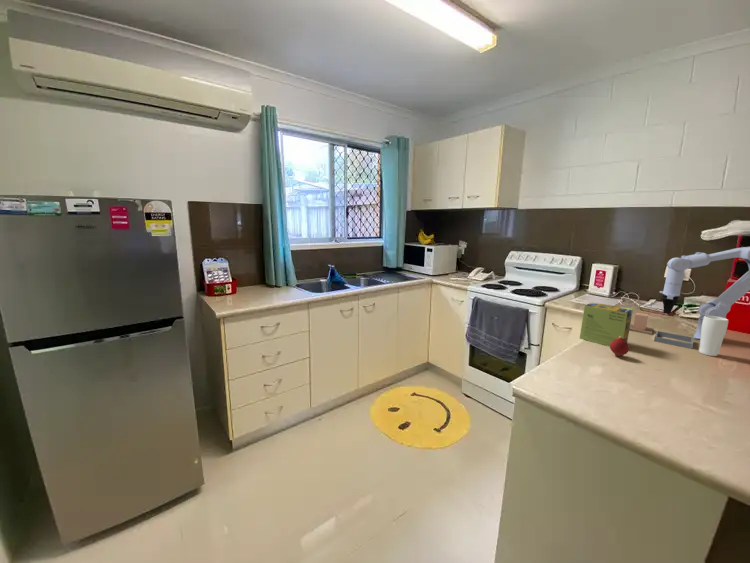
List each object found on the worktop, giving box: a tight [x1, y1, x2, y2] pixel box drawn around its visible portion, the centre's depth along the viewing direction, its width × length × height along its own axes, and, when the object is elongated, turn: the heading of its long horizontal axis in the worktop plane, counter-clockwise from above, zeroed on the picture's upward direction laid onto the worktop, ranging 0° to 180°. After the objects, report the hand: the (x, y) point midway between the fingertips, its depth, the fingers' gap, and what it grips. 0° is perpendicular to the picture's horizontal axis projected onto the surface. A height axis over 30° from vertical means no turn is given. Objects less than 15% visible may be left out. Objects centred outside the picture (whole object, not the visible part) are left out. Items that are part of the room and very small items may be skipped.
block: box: [633, 312, 649, 330], centre depth 154 cm, size 4×4×7 cm
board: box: [629, 323, 655, 336], centre depth 155 cm, size 10×10×1 cm
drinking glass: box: [698, 316, 729, 357], centre depth 125 cm, size 7×7×15 cm
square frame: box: [653, 330, 694, 349], centre depth 140 cm, size 12×12×2 cm
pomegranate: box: [609, 336, 630, 357], centre depth 121 cm, size 6×6×8 cm
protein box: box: [579, 302, 634, 347], centre depth 137 cm, size 10×15×16 cm
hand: (667, 311), depth 149 cm, fingers open, 7 cm apart
